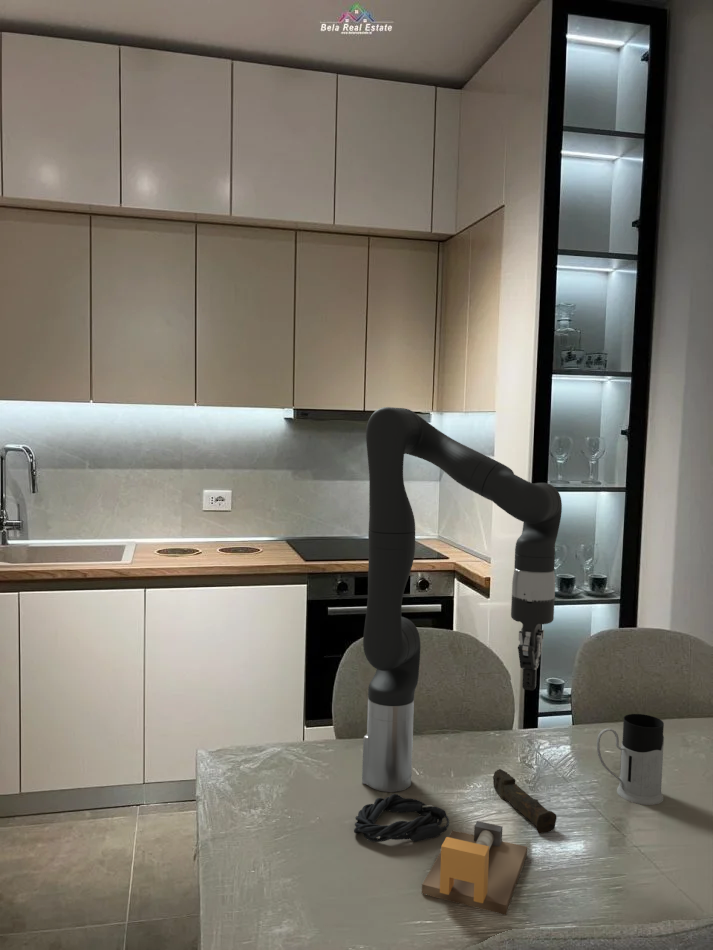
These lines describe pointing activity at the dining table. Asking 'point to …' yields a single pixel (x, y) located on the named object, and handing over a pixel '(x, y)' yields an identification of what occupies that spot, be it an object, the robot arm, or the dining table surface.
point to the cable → (400, 830)
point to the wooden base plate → (501, 871)
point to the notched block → (464, 866)
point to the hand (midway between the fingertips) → (529, 688)
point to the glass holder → (639, 759)
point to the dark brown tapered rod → (523, 802)
